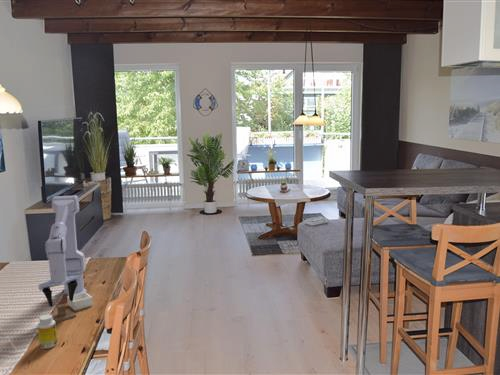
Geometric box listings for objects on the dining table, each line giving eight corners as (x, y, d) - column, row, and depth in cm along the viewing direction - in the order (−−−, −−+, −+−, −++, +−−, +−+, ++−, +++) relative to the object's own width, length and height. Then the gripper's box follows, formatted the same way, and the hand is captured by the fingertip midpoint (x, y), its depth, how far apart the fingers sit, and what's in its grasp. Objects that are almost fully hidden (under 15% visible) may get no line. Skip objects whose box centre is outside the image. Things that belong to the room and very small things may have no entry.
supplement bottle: (58, 346, 154) (55, 318, 152) (40, 350, 151) (36, 322, 150) (57, 339, 159) (54, 312, 157) (39, 343, 156) (36, 315, 155)
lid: (48, 316, 177) (47, 305, 176) (69, 310, 182) (68, 299, 181) (55, 322, 171) (54, 311, 170) (76, 316, 176) (75, 305, 175)
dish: (67, 305, 187) (67, 296, 186) (85, 300, 191) (85, 291, 191) (74, 311, 181) (73, 302, 180) (92, 306, 186) (92, 296, 185)
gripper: (41, 276, 165) (44, 311, 168) (80, 267, 175) (83, 300, 177) (35, 271, 171) (38, 305, 173) (74, 262, 180) (77, 295, 182)
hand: (61, 302), depth 175 cm, fingers open, 7 cm apart
